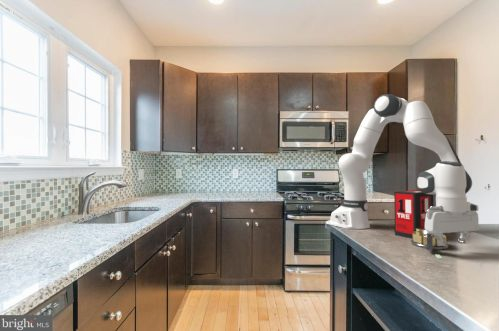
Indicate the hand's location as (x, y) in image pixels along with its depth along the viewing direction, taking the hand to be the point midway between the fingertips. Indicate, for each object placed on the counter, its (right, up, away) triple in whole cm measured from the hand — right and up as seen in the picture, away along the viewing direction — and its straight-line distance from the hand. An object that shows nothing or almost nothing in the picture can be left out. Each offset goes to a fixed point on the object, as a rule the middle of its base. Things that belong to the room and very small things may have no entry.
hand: (451, 244), depth 92 cm
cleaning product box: (+3, -4, +26) cm, 26 cm away
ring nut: (-4, -2, +6) cm, 8 cm away
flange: (-2, -3, +9) cm, 10 cm away
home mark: (-8, -3, -4) cm, 9 cm away
